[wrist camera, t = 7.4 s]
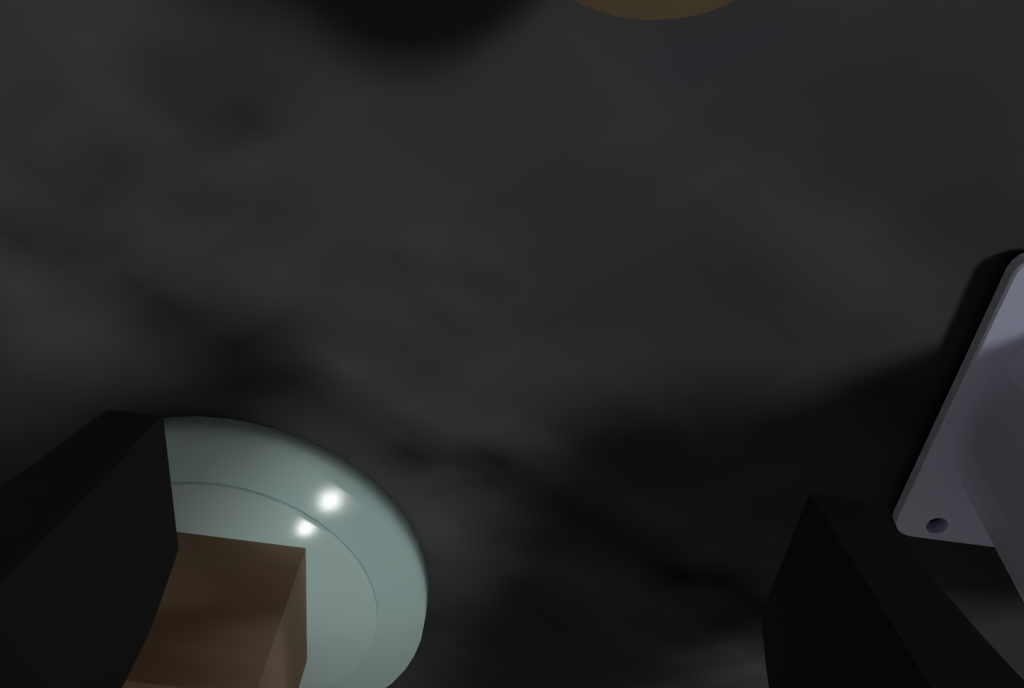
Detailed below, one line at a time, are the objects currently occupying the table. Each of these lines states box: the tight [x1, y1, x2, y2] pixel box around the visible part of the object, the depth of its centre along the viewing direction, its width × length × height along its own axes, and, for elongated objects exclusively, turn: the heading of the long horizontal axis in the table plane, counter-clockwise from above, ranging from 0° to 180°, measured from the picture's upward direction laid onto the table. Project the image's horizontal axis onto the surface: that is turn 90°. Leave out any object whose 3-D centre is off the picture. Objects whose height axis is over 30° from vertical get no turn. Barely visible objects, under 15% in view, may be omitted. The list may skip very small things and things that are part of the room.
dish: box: [163, 416, 429, 688], centre depth 26 cm, size 11×11×1 cm
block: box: [122, 532, 307, 688], centre depth 23 cm, size 4×4×4 cm
